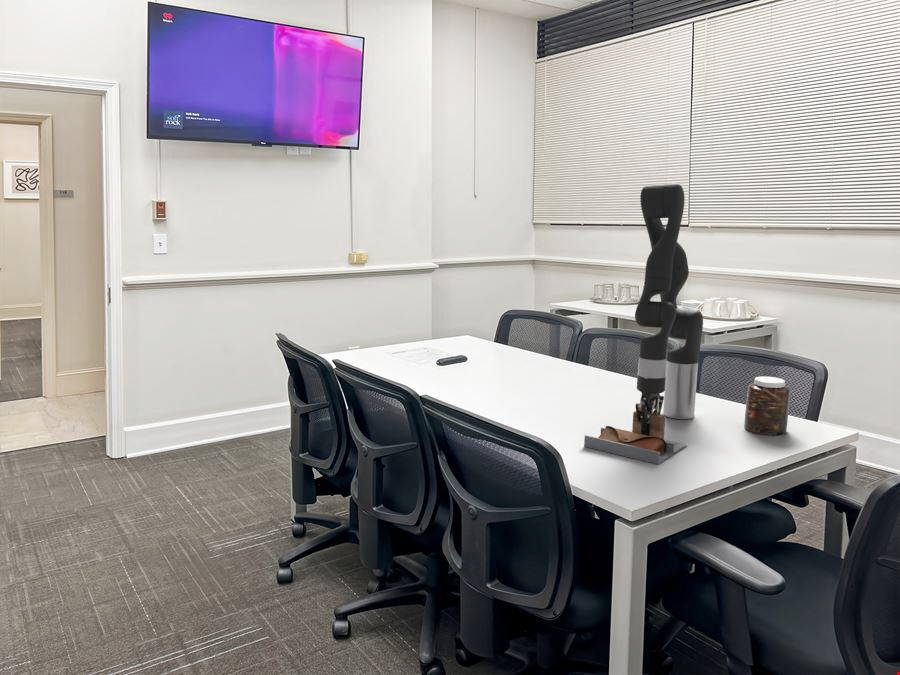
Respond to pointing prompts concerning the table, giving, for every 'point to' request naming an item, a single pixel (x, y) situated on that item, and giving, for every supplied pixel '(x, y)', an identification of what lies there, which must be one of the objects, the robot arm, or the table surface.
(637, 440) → the sunglasses case
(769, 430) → the jar
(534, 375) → the table surface
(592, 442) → the grey divided tray
